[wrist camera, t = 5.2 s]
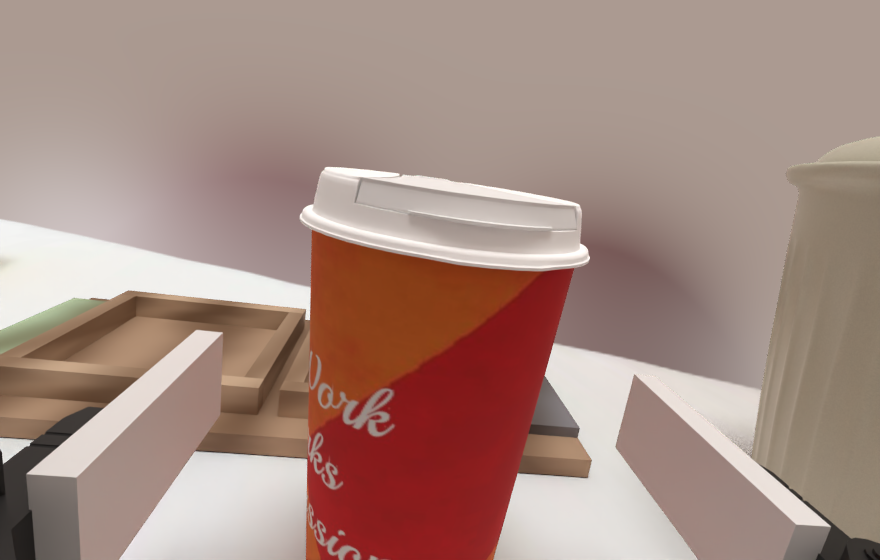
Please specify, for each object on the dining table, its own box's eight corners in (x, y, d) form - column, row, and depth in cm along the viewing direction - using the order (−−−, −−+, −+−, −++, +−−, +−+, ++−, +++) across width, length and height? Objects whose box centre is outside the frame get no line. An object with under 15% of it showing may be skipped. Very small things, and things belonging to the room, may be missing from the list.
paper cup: (285, 521, 19) (312, 159, 15) (470, 515, 20) (530, 190, 17) (249, 764, 11) (286, 170, 8) (544, 723, 13) (675, 221, 10)
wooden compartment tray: (-139, 427, 20) (-148, 374, 20) (92, 310, 36) (91, 278, 35) (587, 477, 24) (598, 434, 24) (513, 352, 40) (519, 324, 39)
